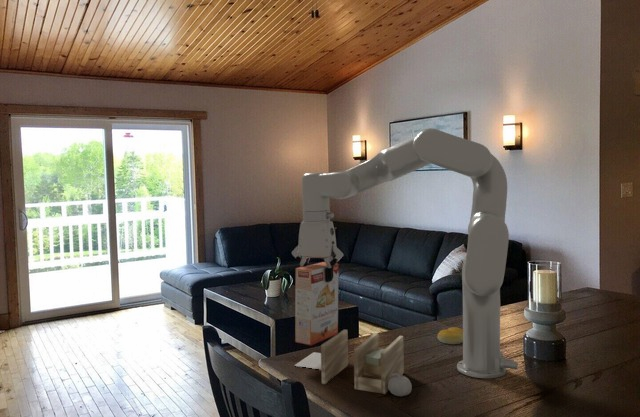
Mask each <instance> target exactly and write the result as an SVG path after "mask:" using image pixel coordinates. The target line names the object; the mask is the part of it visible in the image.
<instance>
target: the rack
mask: <svg viewBox="0 0 640 417" xmlns="http://www.w3.org/2000/svg"><path fill="white" fill-rule="evenodd" d="M348 333H349V332H348V329H343V330H341V331H340V332H338V334H336V335H334V336H331V337H330V339H329V338H328V339H327V341H325V342H323V343H322V344H321V345H320V353H321V370H320V372H321V384H322V385H326V384H327V383H329V382H330V381H331V380H332V379H333V378H335V377H336V376H337V375H338V374H339V373H341V372H342V371H343V370H344V369H345V368H347V367H348V366H349V346H348V345H349V344H348V342H349V341H348V338H349V336H348ZM379 349H380V348H379V333H378V332H374V333H372V334H371V335H370V336H368V338H366V339H365V340H363V341H362V342H361V343H360V344H359V345H358V346H356V347H355V348H354V349H353V376H354V378H353V379H354V383H353V384H354V390H359V391H365V392H371V393H377V394H383V395H386V394H387V393H388V391H390V390H389V389H388V382H389V380H390V378H391V377H393V376H392V374H394V373H398V374H399V375H403V374H404V373H405V372H404V371H405V367H404V366H405V365H404V364H405V362H404V361H405V360H404V352H405V351H404V336H403V335H399V336H398V337H396V338H395V339H394V340H393V341H392V342H391V343H390V344H389V345H388V346H387V347H386V348H383V349H384V350H383V351H382V352H381V380H378V379H371V378H365V377H363V375H364V373H363V365H364V364H365V355H367V354H370V353H372V352H374V351H377V350H379ZM334 376H335V377H334ZM395 376H396V375H395ZM331 378H332V379H331ZM330 379H331V380H330ZM329 380H330V381H329ZM328 381H329V382H328Z"/></svg>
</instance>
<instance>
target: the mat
mask: <svg viewBox="0 0 640 417" xmlns="http://www.w3.org/2000/svg"><path fill="white" fill-rule="evenodd" d="M293 366H294V367H295V366H296V367H297V368H302V367H306V368H305V369H308V368H312V369H311V370H315V369H319V370H318V371H321V352H312V353H310V354H309V355H308V356H306V357H305V358H303V359H301V360H300V361H299V362H297V363H295V364H294V365H293Z"/></svg>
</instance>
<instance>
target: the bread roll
mask: <svg viewBox="0 0 640 417" xmlns="http://www.w3.org/2000/svg"><path fill="white" fill-rule="evenodd" d="M436 338H437V340H438V341H439V342H440V343H442V344H447V345H459V344H463V328H460V327H457V326H452V327H448V328H447V329H442V330H440V331H439V332H438V333H437V336H436Z"/></svg>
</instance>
